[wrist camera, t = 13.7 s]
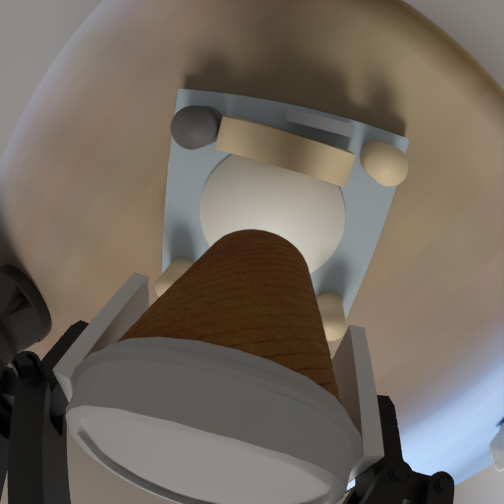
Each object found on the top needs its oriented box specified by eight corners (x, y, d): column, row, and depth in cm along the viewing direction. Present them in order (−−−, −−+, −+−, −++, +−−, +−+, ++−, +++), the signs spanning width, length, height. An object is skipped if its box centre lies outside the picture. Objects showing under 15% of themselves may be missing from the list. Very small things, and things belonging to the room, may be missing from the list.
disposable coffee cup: (227, 163, 14) (56, 311, 4) (372, 266, 16) (431, 476, 5) (154, 288, 19) (52, 440, 8) (274, 360, 20) (246, 525, 9)
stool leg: (182, 140, 24) (167, 144, 21) (190, 102, 22) (175, 102, 20) (338, 183, 24) (343, 194, 21) (351, 146, 22) (358, 151, 19)
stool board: (166, 276, 33) (146, 304, 28) (184, 89, 24) (158, 86, 19) (341, 317, 32) (345, 352, 27) (404, 137, 22) (427, 145, 18)
